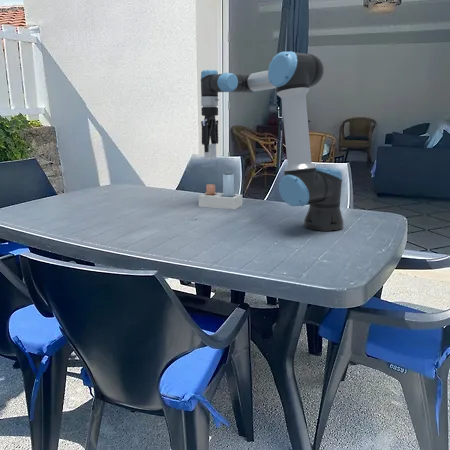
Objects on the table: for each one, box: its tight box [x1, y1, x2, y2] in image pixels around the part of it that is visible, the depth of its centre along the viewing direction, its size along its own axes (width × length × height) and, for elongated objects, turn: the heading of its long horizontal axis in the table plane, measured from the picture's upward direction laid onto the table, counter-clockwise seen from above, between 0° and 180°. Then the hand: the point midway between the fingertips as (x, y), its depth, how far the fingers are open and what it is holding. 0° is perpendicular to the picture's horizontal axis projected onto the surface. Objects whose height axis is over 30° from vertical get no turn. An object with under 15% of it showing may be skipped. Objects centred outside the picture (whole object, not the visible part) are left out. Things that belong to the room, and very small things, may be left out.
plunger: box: [205, 183, 216, 196], centre depth 202 cm, size 4×4×6 cm
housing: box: [198, 192, 243, 210], centre depth 201 cm, size 10×18×6 cm, turn 67°
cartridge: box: [222, 171, 235, 197], centre depth 198 cm, size 5×5×16 cm
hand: (210, 158), depth 198 cm, fingers open, 6 cm apart
